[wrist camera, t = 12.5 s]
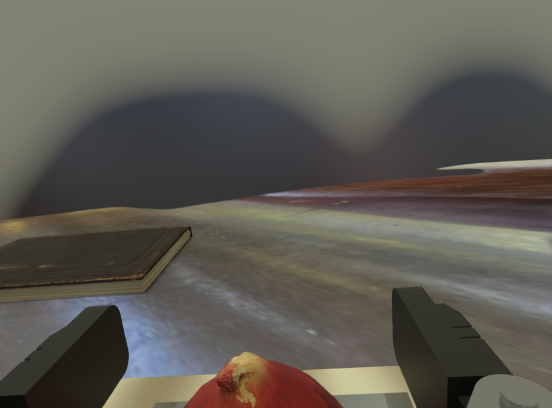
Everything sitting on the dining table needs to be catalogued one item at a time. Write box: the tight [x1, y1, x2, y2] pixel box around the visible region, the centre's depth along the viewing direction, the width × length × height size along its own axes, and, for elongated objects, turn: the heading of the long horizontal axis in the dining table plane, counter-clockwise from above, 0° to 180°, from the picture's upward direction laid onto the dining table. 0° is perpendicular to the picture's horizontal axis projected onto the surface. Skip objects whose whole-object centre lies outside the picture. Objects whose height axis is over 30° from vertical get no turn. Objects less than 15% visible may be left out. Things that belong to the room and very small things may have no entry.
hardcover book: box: [0, 225, 192, 302], centre depth 41 cm, size 16×23×2 cm
